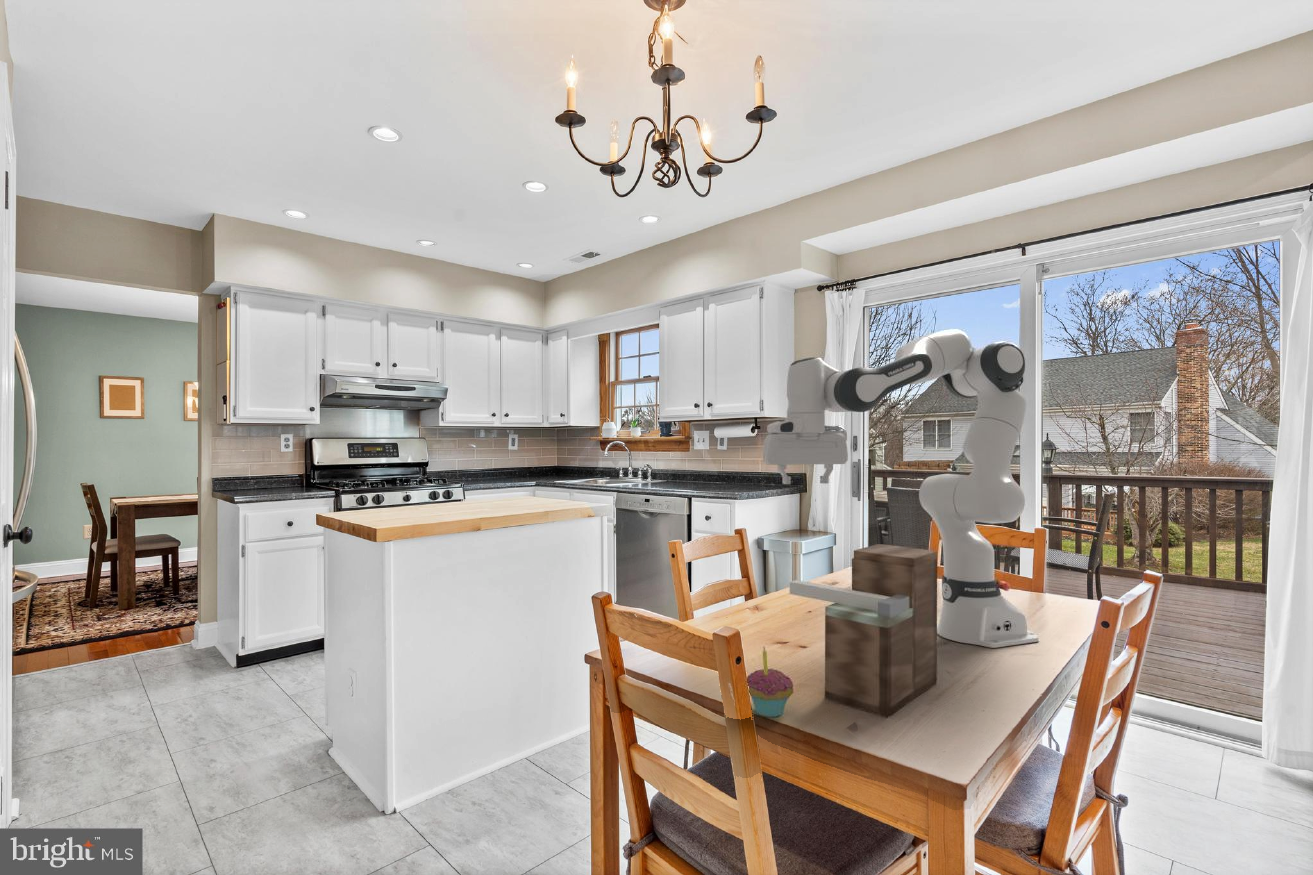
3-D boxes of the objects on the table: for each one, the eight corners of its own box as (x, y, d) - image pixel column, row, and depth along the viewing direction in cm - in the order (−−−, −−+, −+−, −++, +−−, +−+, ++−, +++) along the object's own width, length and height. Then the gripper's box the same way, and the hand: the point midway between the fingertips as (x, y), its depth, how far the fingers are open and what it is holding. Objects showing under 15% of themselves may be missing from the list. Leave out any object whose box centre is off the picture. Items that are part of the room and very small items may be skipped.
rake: (781, 596, 130) (781, 584, 130) (803, 589, 136) (803, 577, 136) (889, 618, 115) (890, 604, 115) (909, 609, 120) (909, 596, 120)
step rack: (824, 698, 122) (825, 558, 122) (878, 668, 138) (878, 543, 138) (887, 717, 114) (887, 567, 114) (936, 683, 130) (937, 551, 130)
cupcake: (782, 725, 111) (782, 654, 111) (736, 714, 115) (736, 645, 115) (800, 708, 118) (800, 641, 118) (756, 697, 123) (756, 633, 123)
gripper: (840, 425, 162) (840, 482, 162) (760, 425, 159) (760, 483, 159) (852, 425, 156) (852, 484, 156) (769, 425, 153) (769, 485, 153)
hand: (805, 483), depth 157 cm, fingers open, 8 cm apart
